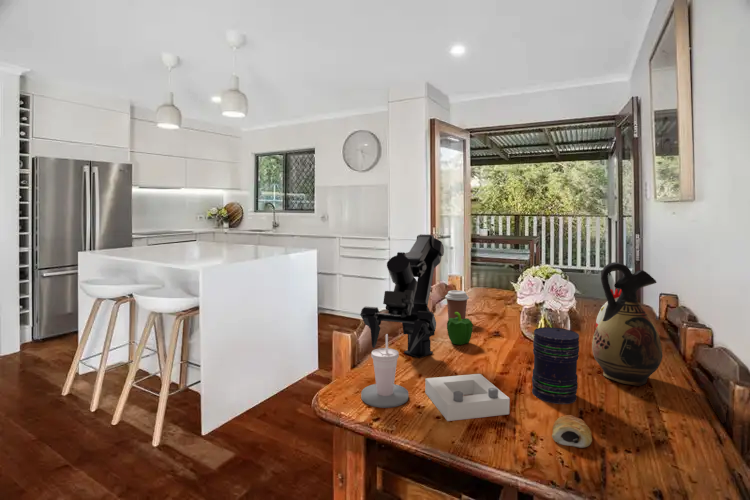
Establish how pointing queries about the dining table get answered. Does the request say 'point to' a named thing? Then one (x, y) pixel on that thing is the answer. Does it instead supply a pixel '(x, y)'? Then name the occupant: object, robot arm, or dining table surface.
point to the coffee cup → (456, 303)
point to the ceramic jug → (626, 331)
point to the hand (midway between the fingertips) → (390, 349)
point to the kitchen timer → (603, 309)
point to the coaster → (384, 397)
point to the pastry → (571, 432)
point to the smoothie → (385, 368)
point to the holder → (466, 397)
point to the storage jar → (555, 365)
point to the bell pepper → (459, 329)
